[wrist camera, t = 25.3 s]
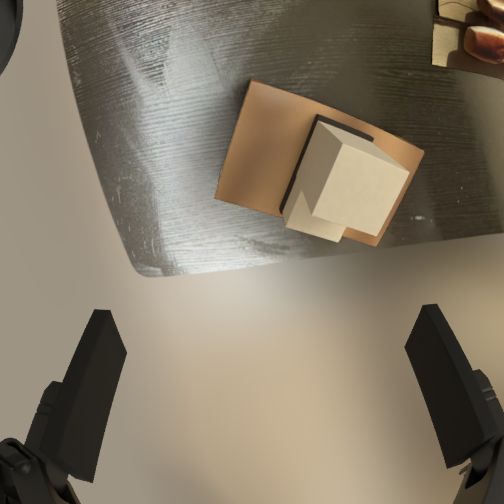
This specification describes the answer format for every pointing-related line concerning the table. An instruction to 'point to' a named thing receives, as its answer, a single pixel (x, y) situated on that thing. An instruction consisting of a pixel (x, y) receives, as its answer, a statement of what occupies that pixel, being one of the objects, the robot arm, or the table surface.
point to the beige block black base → (341, 183)
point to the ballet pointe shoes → (470, 36)
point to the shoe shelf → (290, 150)
